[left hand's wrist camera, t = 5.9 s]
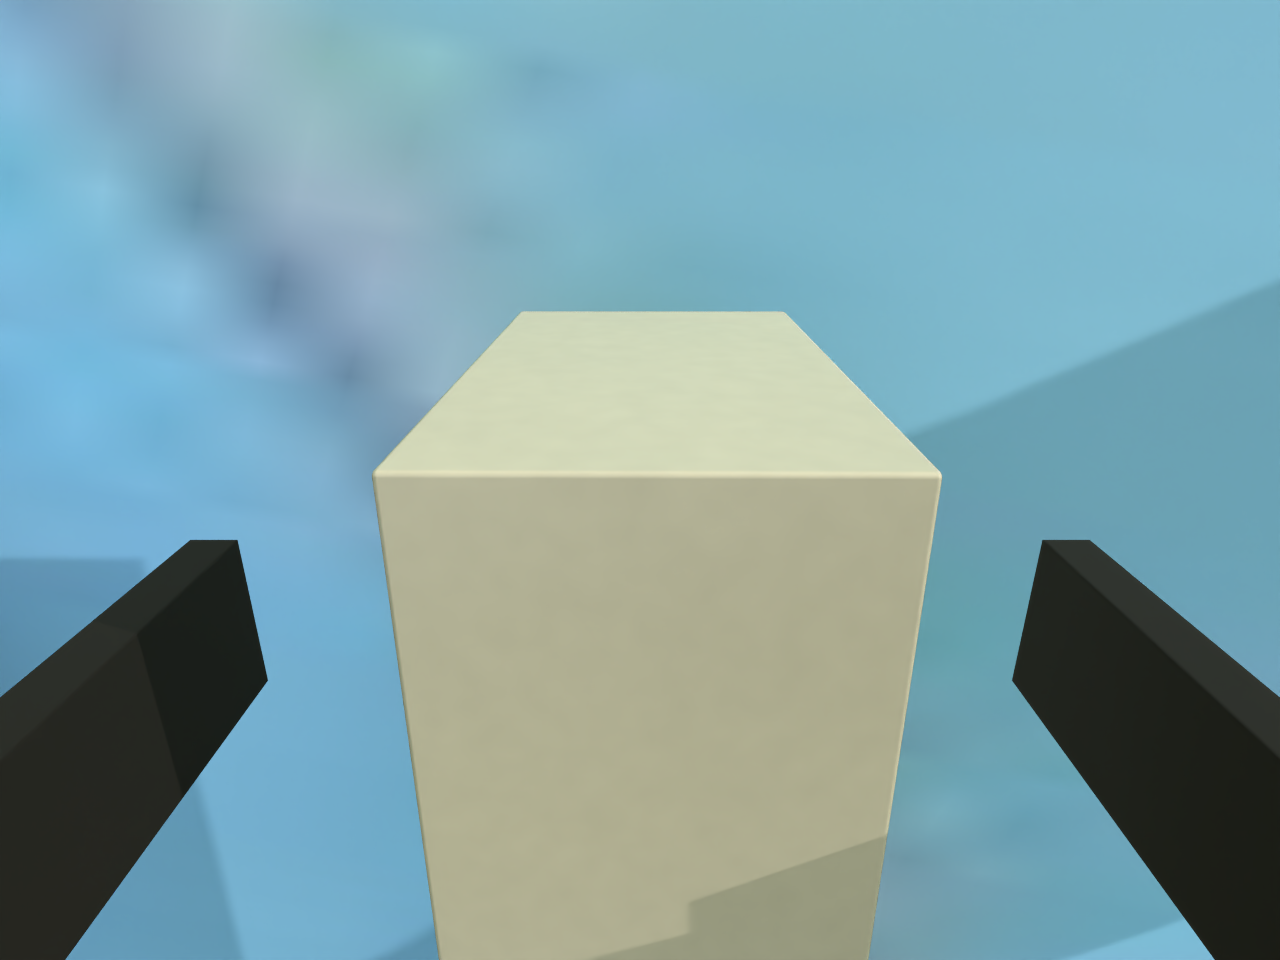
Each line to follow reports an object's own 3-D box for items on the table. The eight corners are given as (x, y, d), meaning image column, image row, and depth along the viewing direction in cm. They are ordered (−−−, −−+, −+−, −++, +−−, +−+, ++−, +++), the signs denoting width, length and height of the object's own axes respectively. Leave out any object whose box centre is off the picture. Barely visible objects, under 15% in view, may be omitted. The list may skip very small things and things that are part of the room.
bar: (519, 311, 16) (369, 471, 7) (785, 311, 16) (945, 472, 7) (561, 1034, 24) (513, 1508, 16) (736, 1036, 24) (784, 1512, 16)
